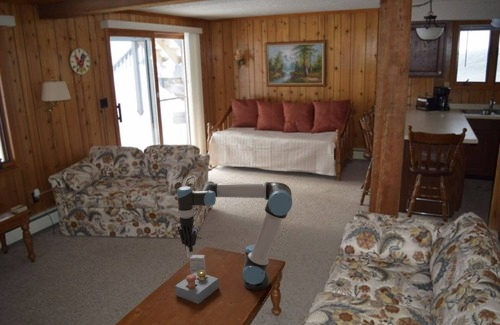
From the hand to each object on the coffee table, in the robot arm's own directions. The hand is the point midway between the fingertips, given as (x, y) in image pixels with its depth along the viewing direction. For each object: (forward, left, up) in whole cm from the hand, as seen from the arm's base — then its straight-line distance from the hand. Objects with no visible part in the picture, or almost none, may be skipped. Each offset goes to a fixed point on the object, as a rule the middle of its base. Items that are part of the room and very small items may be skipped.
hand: (189, 256), depth 221 cm
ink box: (+12, -19, -24) cm, 33 cm away
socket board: (0, -4, -24) cm, 24 cm away
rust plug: (0, 0, -21) cm, 21 cm away
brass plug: (0, -9, -23) cm, 25 cm away
